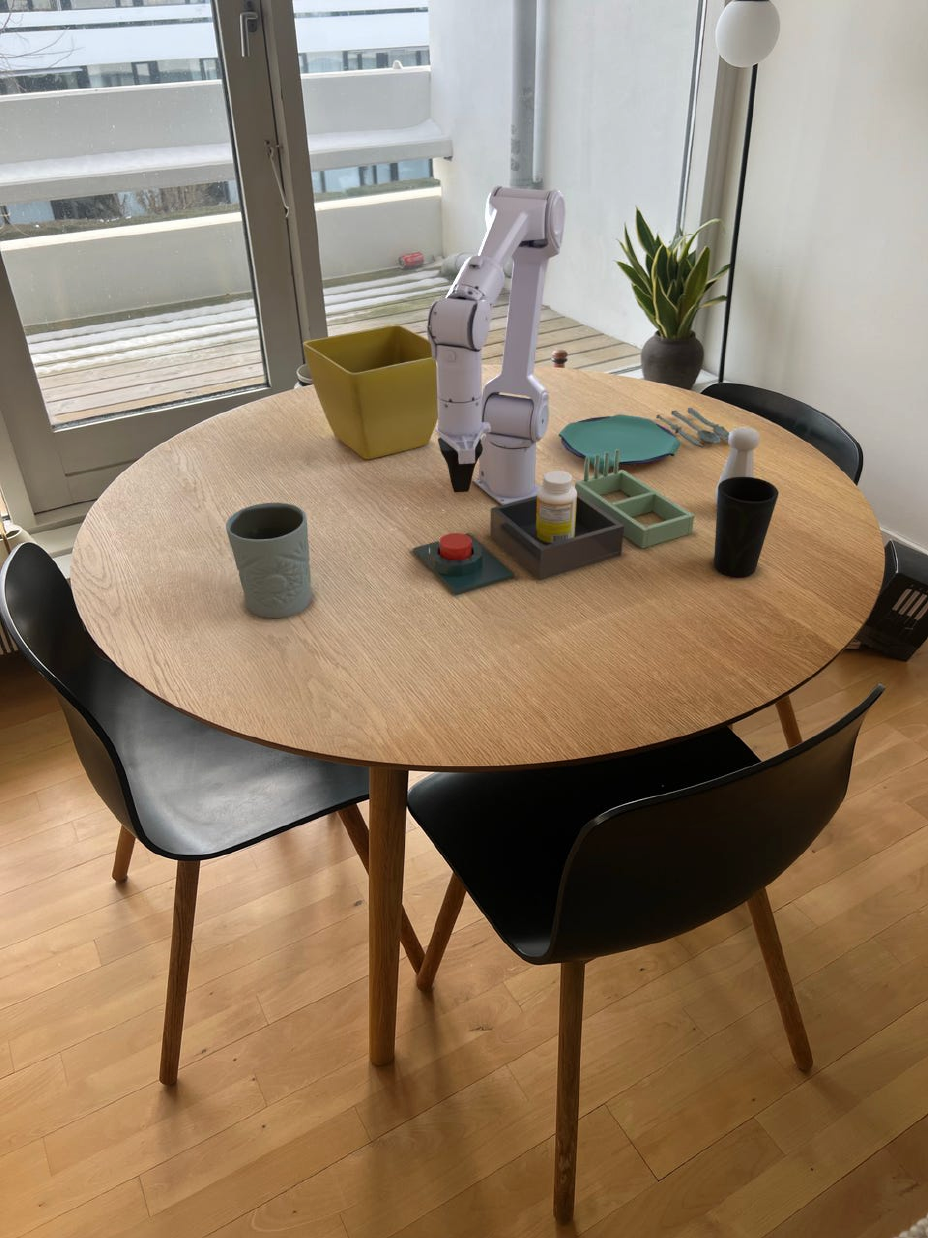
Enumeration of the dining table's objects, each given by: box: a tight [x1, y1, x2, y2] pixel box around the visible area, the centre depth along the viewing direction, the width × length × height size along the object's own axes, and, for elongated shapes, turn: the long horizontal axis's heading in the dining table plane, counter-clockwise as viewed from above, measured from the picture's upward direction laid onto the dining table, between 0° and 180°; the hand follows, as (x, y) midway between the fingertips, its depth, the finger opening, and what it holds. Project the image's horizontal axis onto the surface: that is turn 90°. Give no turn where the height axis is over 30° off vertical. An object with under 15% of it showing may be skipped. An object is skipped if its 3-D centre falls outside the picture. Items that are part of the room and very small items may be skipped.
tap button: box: [438, 532, 472, 561], centre depth 129 cm, size 4×4×2 cm
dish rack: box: [574, 449, 695, 549], centre depth 140 cm, size 17×9×7 cm, turn 28°
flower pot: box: [302, 324, 438, 460], centre depth 161 cm, size 19×19×17 cm
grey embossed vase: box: [225, 502, 313, 619], centre depth 121 cm, size 10×10×12 cm
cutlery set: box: [558, 407, 730, 473], centre depth 163 cm, size 20×30×2 cm, turn 111°
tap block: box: [412, 532, 515, 596], centre depth 131 cm, size 13×9×2 cm
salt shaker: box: [714, 426, 760, 506], centre depth 140 cm, size 6×6×13 cm
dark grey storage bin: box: [489, 493, 624, 581], centre depth 134 cm, size 14×14×5 cm
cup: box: [713, 477, 780, 579], centre depth 127 cm, size 8×8×12 cm
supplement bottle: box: [536, 470, 577, 546], centre depth 132 cm, size 6×6×10 cm
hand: (460, 489), depth 128 cm, fingers closed
